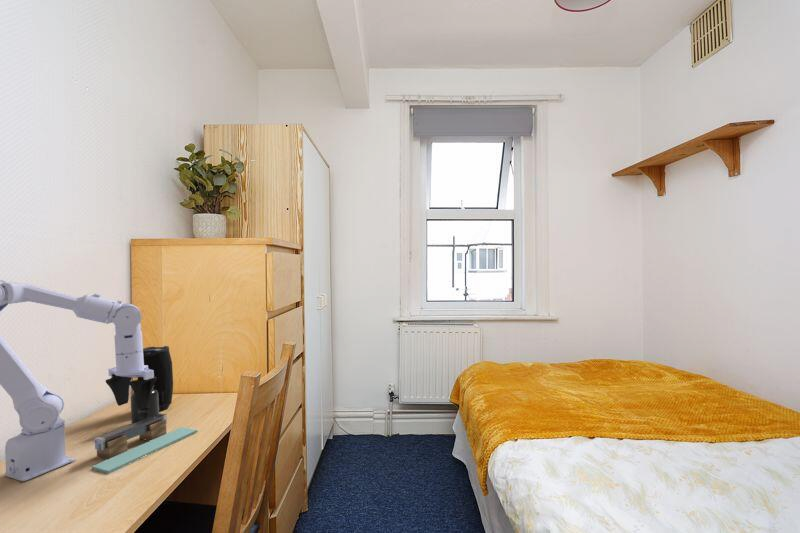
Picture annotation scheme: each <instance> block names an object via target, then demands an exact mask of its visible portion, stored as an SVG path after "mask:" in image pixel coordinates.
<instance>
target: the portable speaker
mask: <svg viewBox="0 0 800 533" xmlns="http://www.w3.org/2000/svg"><path fill="white" fill-rule="evenodd" d="M143 358H144V365H148V369H150V370H154V377H156V379H157V380H156V381H155V383H154V387H153V388H155V389H157V391H158V397H159V411H160V412H163V411H166V410H168V409H169V406H170V405H171V404H172V403H173V402H172V399H173V393H174V376H173V375H174V374H173V373H174V372H173V361H172V357H171V353H170V347H169V345H164V346H146V347H145V348H144V347H143Z"/></svg>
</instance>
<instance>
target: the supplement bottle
mask: <svg viewBox="0 0 800 533" xmlns="http://www.w3.org/2000/svg"><path fill="white" fill-rule="evenodd" d="M153 387H154V385H153ZM153 387H152V389H151V392H150V396H149V401H148V405H147V406H145V407H143V408H140V409H139V408H137V405H136V400H135V395H134V392H132V393H131V395H130V397H129V398H130V400H129V401H130V422H131V424H134V423H136V422H139V421H142V420H144V419H147V418H149V417H152V416H155V415H157V414H160V412H159V397H158V391H157V389H155V388H153Z"/></svg>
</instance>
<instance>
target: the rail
mask: <svg viewBox="0 0 800 533" xmlns="http://www.w3.org/2000/svg"><path fill="white" fill-rule="evenodd" d="M167 417H168V416H167V414H165V413H160V412H159V414H157V415H155V416H152V417H149V418H147V419H144V420H142V421H139V422H136V423H134V424H132V423H131V424H128V425H126V426H123V427H121V428H118V429H115V430H113V431H110V432H108V433H105V434H102V435H100V436H97V437H95V438H94V450H96V451H97V450H101V451H102V450H104V449H107V442H110V441H112V440H115V439H117V438H120V437H122V436H125V435H126V436H127V441H129V440H131V439H133V438H136V437H138V436H139V435H141V434H143V433H145V432H148V431H149V426H150V425H152V424H155V423H157V422H160V421H162V420H166V425H167V424H168V423H167V422H168V421H167V419H168V418H167Z"/></svg>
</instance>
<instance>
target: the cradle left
mask: <svg viewBox="0 0 800 533" xmlns="http://www.w3.org/2000/svg"><path fill="white" fill-rule="evenodd" d="M126 451H128V440H127V436H126V435H125V436H122V437H120V438H117V439H115V440H112V441H110V442H107V449H104V450H102V451H101V450H97V449H96V457H97V458H100V459H103V460H108V459H110V458H112V457H114V456H117V455H119V454H121V453H124V452H126Z"/></svg>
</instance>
